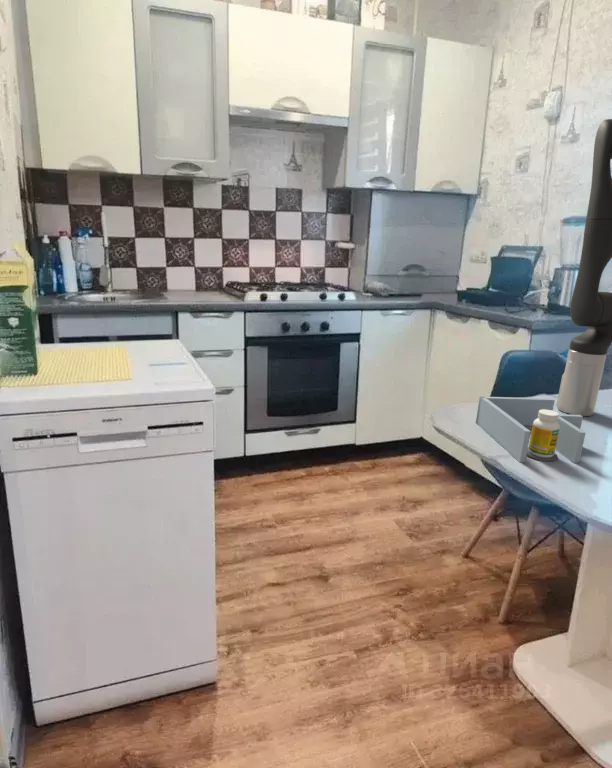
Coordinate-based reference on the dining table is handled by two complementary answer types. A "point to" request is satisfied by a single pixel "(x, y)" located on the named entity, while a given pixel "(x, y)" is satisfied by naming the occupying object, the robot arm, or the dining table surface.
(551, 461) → the pad
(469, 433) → the dining table surface
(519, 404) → the channel
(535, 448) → the supplement bottle
